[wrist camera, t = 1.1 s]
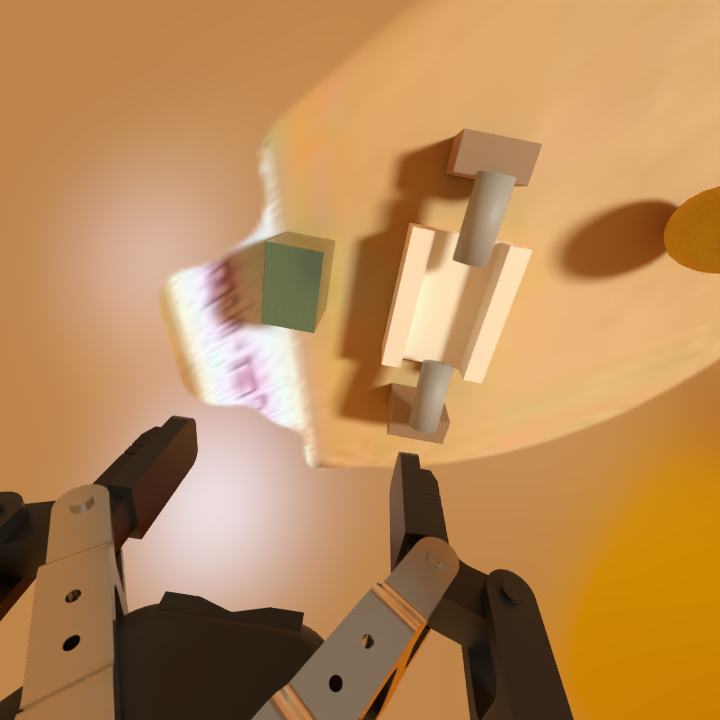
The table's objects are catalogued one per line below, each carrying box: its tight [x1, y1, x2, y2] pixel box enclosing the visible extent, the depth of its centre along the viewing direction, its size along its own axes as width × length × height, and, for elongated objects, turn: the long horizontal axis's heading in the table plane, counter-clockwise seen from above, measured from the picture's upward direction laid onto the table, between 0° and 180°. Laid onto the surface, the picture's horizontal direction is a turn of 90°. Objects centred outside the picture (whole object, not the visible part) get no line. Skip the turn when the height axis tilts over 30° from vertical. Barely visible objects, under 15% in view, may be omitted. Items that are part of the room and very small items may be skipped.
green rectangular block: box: [262, 232, 335, 333], centre depth 28 cm, size 6×4×6 cm, turn 170°
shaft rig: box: [382, 129, 542, 444], centre depth 27 cm, size 23×9×7 cm, turn 170°
